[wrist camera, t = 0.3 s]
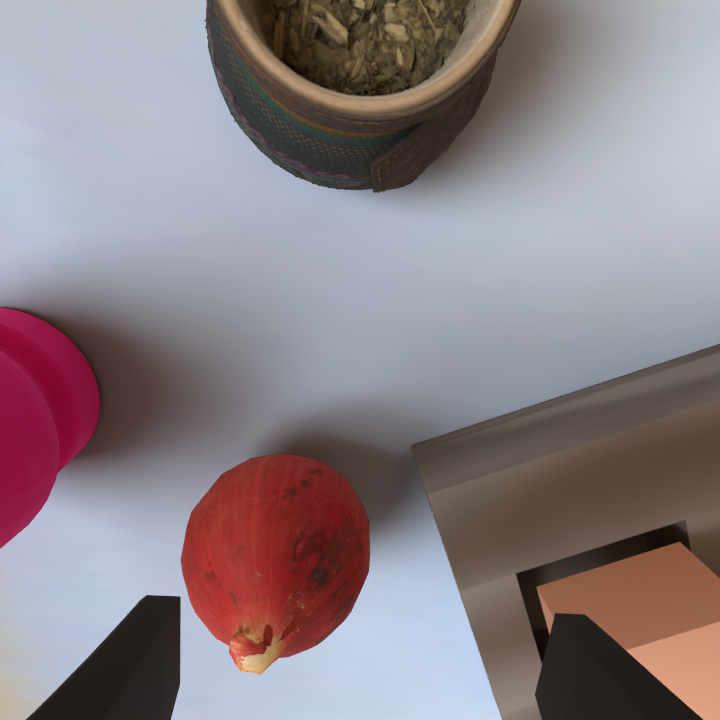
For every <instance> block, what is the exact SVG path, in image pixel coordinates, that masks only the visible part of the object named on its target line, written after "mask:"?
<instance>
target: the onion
mask: <svg viewBox="0 0 720 720" xmlns="http://www.w3.org/2000/svg"><path fill="white" fill-rule="evenodd" d="M369 562H370V536H369V520H368V517H367V514H366V511H365V508H364V506H363V504H362V503H361V501H360V499H359V497H358V496H357V494H356V492H355V491H354V489H353V487H352V485H351V484H350V482H349V480H348V479H347V478H346V477H344V476H343V475H341V474H340V473H338V472H337V471H335V470H334V469H332V468H331V467H329V466H328V465H326V464H325V463H323V462H322V461H320V460H319V459H315V458H309V457H303V456H297V455H291V454H285V453H283V454H276V455H269V456H263V457H256V458H250V459H249V460H247V461H245V462H243V463H241V464H239V465H238V466H236V467H234V468H232V469H230V470H228V471H227V472H225V473H223V474H222V475H221V476H220V477H219V479H218V480H217V481H216V482H215V483H214V485H213V486H212V487H211V488H210V490H209V491H208V492H207V493H206V494H205V496H204V497H203V498H202V499H201V501H200V502H199V503H198V504H197V505H196V507H195V508H194V509H193V510H192V512H191V515H190V518H189V522H188V525H187V529H186V534H185V540H184V545H183V550H182V556H181V565H182V572H183V577H184V580H185V584H186V588H187V591H188V595H189V599H190V602H191V605H192V607H193V609H194V611H195V613H196V614H197V615H198V617H199V618H200V619H201V620H202V622H203V623H204V624H205V626H206V627H207V628H208V629H209V631H210V632H211V633H212V634H213V635H214V636H215V637H216V639H218V640H220V641H222V642H223V643H225V644H227V645H229V646H230V649H229V653H230V655H231V657H232V658H233V660H234V662H235V664H236V665H237V667H238V669H239V670H240V672H253V673H256V674H259V675H260V674H261V673H262V672H264V671H265V670H266V669H267V668H268V667H269V666H270V665H271V664H272V663H273V662H275V661H276V660H277V659H278V658H283V657H290V656H292V655H295V654H297V653H300V652H302V651H305V650H307V649H310V648H312V647H314V646H316V645H318V644H319V643H321V642H322V641H323V640H324V639H325V638H327V637H328V636H329V635H330V634H331V633H332V632H333V631H334V630H335V629H336V628H337V627H338V626H339V625H340V624H342V623H343V622H344V620H345V619H346V618H347V616H348V615H349V614H350V612H351V611H352V609H353V606H354V604H355V602H356V600H357V598H358V596H359V593H360V591H361V589H362V587H363V585H364V582H365V580H366V577H367V575H368V572H369Z"/></svg>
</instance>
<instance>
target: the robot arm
mask: <svg viewBox="0 0 720 720" xmlns="http://www.w3.org/2000/svg"><path fill="white" fill-rule="evenodd" d="M179 686H180V597H176V596H153V595H146V596H145V597H144V598H143V599H141V600H140V601H139V602H138V604H137V605H136V606H135V607H134V608H133V609H132V610H131V611H130V612H129V614H128V615H127V616H126V617H125V618H124V619H123V620H122V621H121V622H120V623H119V625H118V626H117V627H116V628H115V629H114V630H113V631H112V632H111V633H110V634H109V636H108V637H107V638H106V639H105V640H104V641H103V642H102V643H101V644H100V645H99V646H98V647H97V648H96V649H95V650H94V652H93V653H92V654H91V655H90V656H89V657H88V658H87V659H86V660H85V661H84V662H83V663H82V664H81V665H80V666H79V667H78V668H77V669H76V670H75V671H74V672H73V673H72V674H71V675H70V676H69V677H68V678H67V679H66V680H65V681H64V682H63V684H62V685H61V686H60V687H59V688H58V689H57V690H56V691H55V692H54V693H53V694H52V695H51V696H50V697H49V698H48V699H47V700H46V701H45V702H44V703H43V704H42V705H41V706H40V707H39V708H38V709H37V710H36V711H35V712H34V713H32V714H31V715H30V716H29V717H28V718H27V719H26V720H171V716H172V712H173V709H174V705H175V701H176V697H177V693H178V690H179ZM535 698H536V701H537V704H538V708H539V711H540V715H541V718H542V720H703V719H702V718H701V717H700V716H699V715H698V714H696V713H695V712H694V711H693V710H692V709H691V708H690V707H688V706H687V705H686V704H685V703H684V702H683V701H682V700H681V699H679V698H678V697H677V696H676V695H675V694H674V693H673V692H672V691H670V690H669V689H668V688H667V687H666V686H665V685H664V684H663V683H662V682H660V681H659V680H658V679H657V678H656V677H655V676H654V675H653V674H652V673H650V672H649V671H648V670H647V669H646V668H645V667H644V666H643V665H642V664H640V663H639V662H638V661H637V660H636V659H635V658H634V657H633V656H632V655H631V654H629V653H628V652H627V651H626V650H625V649H624V648H623V647H622V646H621V645H619V644H618V643H617V642H616V641H615V640H614V639H613V638H612V637H611V636H609V635H608V634H607V633H606V632H605V631H604V630H603V629H602V628H600V627H599V626H598V625H597V624H596V623H595V622H593V621H592V620H591V619H590V618H589V617H587V616H586V615H585V614H565V613H555V616H554V620H553V624H552V628H551V632H550V636H549V639H548V643H547V647H546V651H545V655H544V659H543V663H542V667H541V671H540V675H539V679H538V683H537V687H536V691H535Z"/></svg>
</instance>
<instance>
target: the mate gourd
mask: <svg viewBox="0 0 720 720" xmlns="http://www.w3.org/2000/svg"><path fill="white" fill-rule="evenodd" d="M206 1H207V7H206V20H204V21H206V27H205V28H206V29H207V34H208V36H207V39H208V49H209V53H210V56H211V57H210V58H211V61H212V65H213V68H214V72H215V75H216V78H217V82H218V86H219V88H220V90H221V93H222V95H223V97H224V99H225V102H226V104H227V106H228V108H229V110H230V113H231V115H232V116H233V117H234V119H235V121H236V122H237V124H238V125H239V127H240V128H241V129H242V130H243V132H244V133H245V134H246V135H247V136H248V137H249V139H250V140H251V141H252V142H253V143H254V144H255V145H256V146H257V148H258V149H259V150H260V151H261V152H263V153H264V154H265V155H266V156H267V157H268V158H269V159H271V160H272V162H273V163H274V164H276V165H278V166H279V167H281V168H283V169H284V170H286V171H287V172H289V173H291V174H293V175H294V176H295V177H299V178H301V179H304V180H307V181H309V182H311V183H312V184H317V185H319V186H323V187H324V186H325V187H328V188H335V189H345V190H347V189H348V190H363V189H373V192H374V193H376V192H378V193H379V192H381V191H386V190H390V189H396V188H400V187H403V186H406V185H409V184H410V183H412V182H413V181H414V180H416V179H417V177H418V176H420V175H421V174H422V173H423V171H424V170H425V169H426V167H427V166H429V165H430V164H432V163H433V162H434V161H435V160H436V159H437V158H438V157H439V156H440V155H441V154H442V153H443V152H444V151H445V150H446V149H447V148H448V147H449V146H450V144H451V143H452V142H453V141H454V139H455V138H456V136H457V135H458V134H459V133H460V132H461V131H462V130H463V128H464V127H465V126H466V125H467V123H468V122H469V121H470V120H471V118H473V116H474V115H475V113H476V112H477V110H478V107H479V105H480V103H481V101H482V99H483V97H484V95H485V93H486V91H487V89H488V87H489V83H490V81H491V76H492V73H493V69H494V66H495V61H496V55H497V50H498V48H499V47H500V46H501V45H502V43H503V41H504V39H505V37H506V34H507V32H508V30H509V28H510V27H511V25H512V22H513V20H514V18H515V15H516V13H517V11H518V8H519V6H520V3H521V0H206Z"/></svg>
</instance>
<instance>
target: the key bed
mask: <svg viewBox="0 0 720 720" xmlns="http://www.w3.org/2000/svg"><path fill="white" fill-rule="evenodd" d="M410 447H411V450H412V453H413V456H414V458H415V461H416V464H417V467H418V470H419V473H420V476H421V479H422V482H423V485H424V488H425V491H426V494H427V497H428V500H429V503H430V506H431V509H432V512H433V515H434V518H435V521H436V524H437V527H438V530H439V533H440V536H441V539H442V542H443V545H444V548H445V551H446V554H447V557H448V560H449V563H450V566H451V569H452V572H453V575H454V578H455V581H456V584H457V587H458V590H459V593H460V596H461V599H462V602H463V605H464V608H465V611H466V614H467V617H468V620H469V623H470V626H471V629H472V632H473V634H474V637H475V640H476V643H477V646H478V649H479V652H480V655H481V658H482V661H483V664H484V667H485V670H486V673H487V676H488V679H489V682H490V685H491V688H492V691H493V694H494V697H495V700H496V703H497V706H498V709H499V712H500V715H501V718H502V720H542V718H541V715H540V711H539V708H538V704H537V701H536V698H535V691H536V687H537V683H538V679H539V675H540V671H541V667H542V663H543V659H544V655H545V651H546V647H547V643H548V639H549V636H550V634H549V631H548V627H547V624H546V620H545V616H544V613H543V609H542V606H541V602H540V598H539V595H538V591H537V588H536V587H538V586H541V585H544V584H547V583H550V582H553V581H557V580H560V579H563V578H566V577H569V576H572V575H576V574H579V573H582V572H585V571H588V570H591V569H595V568H598V567H601V566H604V565H607V564H610V563H614V562H617V561H620V560H623V559H626V558H630V557H633V556H636V555H639V554H642V553H645V552H649V551H652V550H655V549H658V548H661V547H664V546H668V545H671V544H674V543H677V542H681V543H682V544H683V545H684V546H685V547H686V548H687V549H688V550H689V551H690V552H692V553H693V554H694V555H695V556H696V557H697V558H698V559H699V560H700V561H701V562H702V563H703V564H705V565H706V566H707V567H708V568H709V569H710V570H711V571H712V572H713V573H714V574H715V575H717V576H718V577H719V578H720V344H719V345H716V346H713V347H710V348H707V349H703V350H700V351H697V352H694V353H691V354H688V355H685V356H682V357H679V358H676V359H673V360H670V361H667V362H664V363H661V364H658V365H655V366H652V367H649V368H646V369H643V370H640V371H637V372H634V373H631V374H628V375H625V376H621V377H618V378H615V379H612V380H609V381H606V382H603V383H600V384H597V385H594V386H591V387H588V388H585V389H582V390H579V391H576V392H573V393H570V394H567V395H564V396H561V397H558V398H555V399H552V400H549V401H546V402H543V403H539V404H536V405H533V406H530V407H527V408H524V409H521V410H518V411H515V412H512V413H509V414H506V415H503V416H500V417H497V418H494V419H491V420H488V421H485V422H482V423H479V424H476V425H473V426H470V427H467V428H464V429H461V430H457V431H454V432H451V433H448V434H445V435H442V436H439V437H436V438H433V439H430V440H427V441H424V442H421V443H418V444H415V445H412V446H410Z"/></svg>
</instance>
